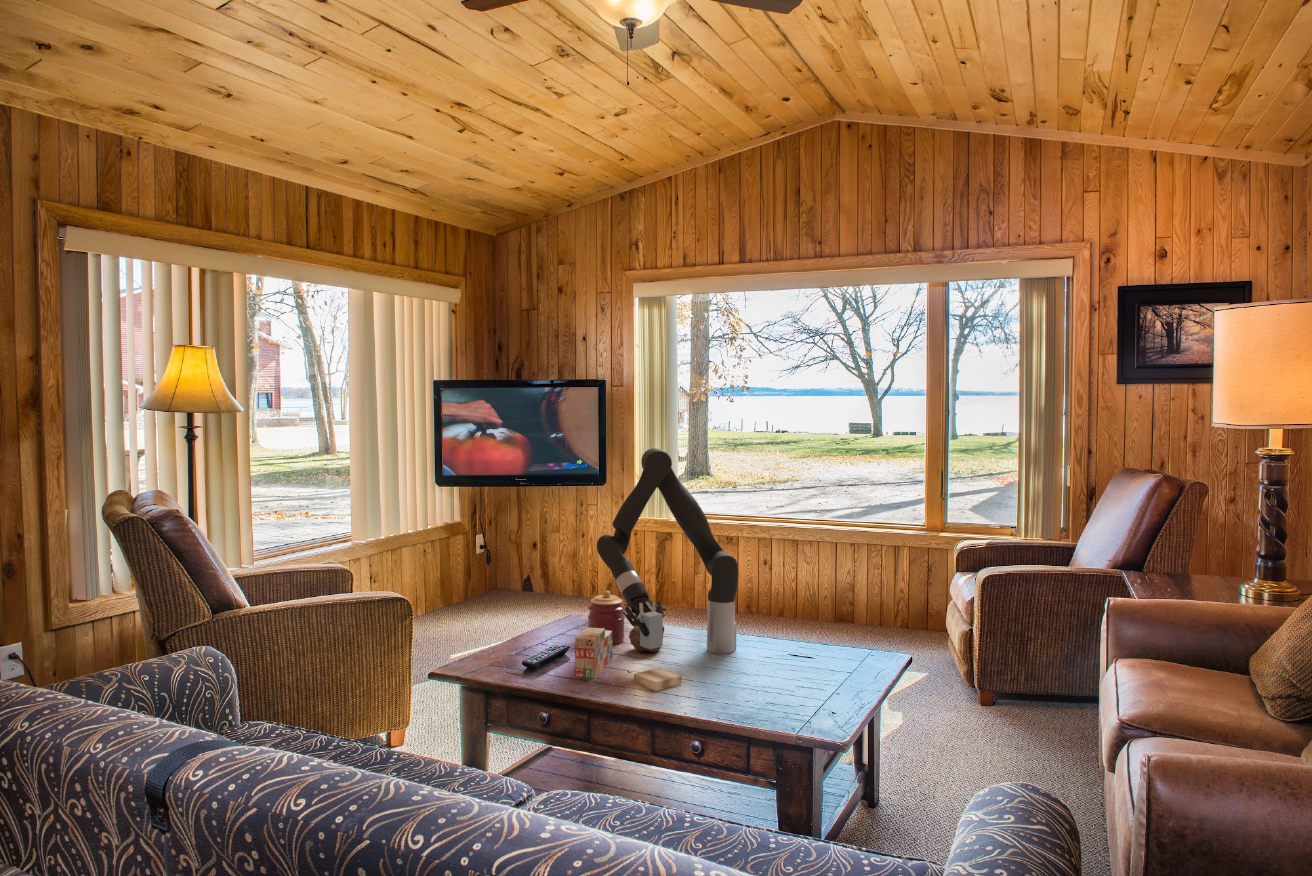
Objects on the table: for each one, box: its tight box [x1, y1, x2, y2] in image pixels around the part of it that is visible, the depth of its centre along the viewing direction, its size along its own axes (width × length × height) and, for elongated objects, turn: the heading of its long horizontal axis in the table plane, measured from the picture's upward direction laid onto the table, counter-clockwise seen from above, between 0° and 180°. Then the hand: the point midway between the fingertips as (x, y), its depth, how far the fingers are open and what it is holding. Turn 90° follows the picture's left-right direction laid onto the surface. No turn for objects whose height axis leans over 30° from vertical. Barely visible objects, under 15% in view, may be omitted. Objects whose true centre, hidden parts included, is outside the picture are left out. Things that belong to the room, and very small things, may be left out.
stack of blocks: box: [574, 626, 613, 679], centre depth 261 cm, size 21×6×12 cm, turn 168°
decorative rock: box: [628, 626, 665, 653], centre depth 280 cm, size 13×11×10 cm
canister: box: [587, 590, 626, 646], centre depth 292 cm, size 13×13×18 cm
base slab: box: [633, 667, 682, 692], centre depth 247 cm, size 10×10×3 cm
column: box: [640, 612, 664, 649], centre depth 257 cm, size 5×5×10 cm
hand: (654, 633), depth 256 cm, fingers closed on column, 5 cm apart
